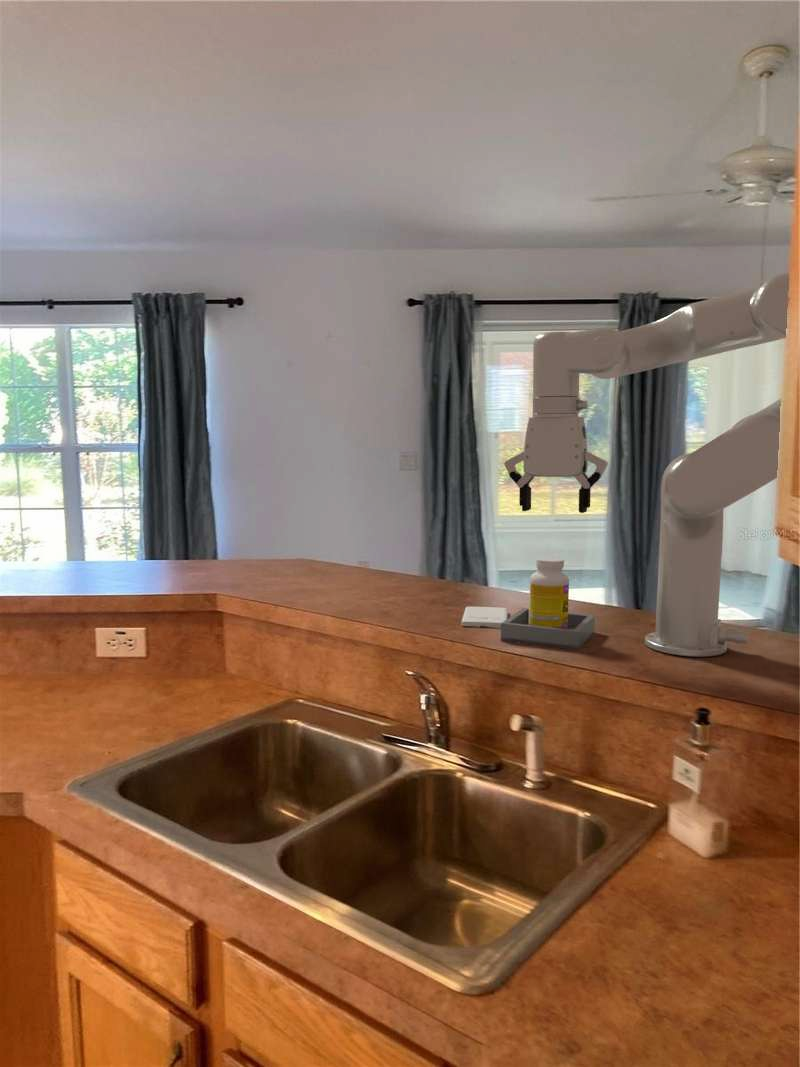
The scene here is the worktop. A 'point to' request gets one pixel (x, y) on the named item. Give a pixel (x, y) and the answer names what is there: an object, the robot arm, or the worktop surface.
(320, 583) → the worktop surface
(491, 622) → the external hard drive
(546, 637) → the tray
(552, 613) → the supplement bottle
